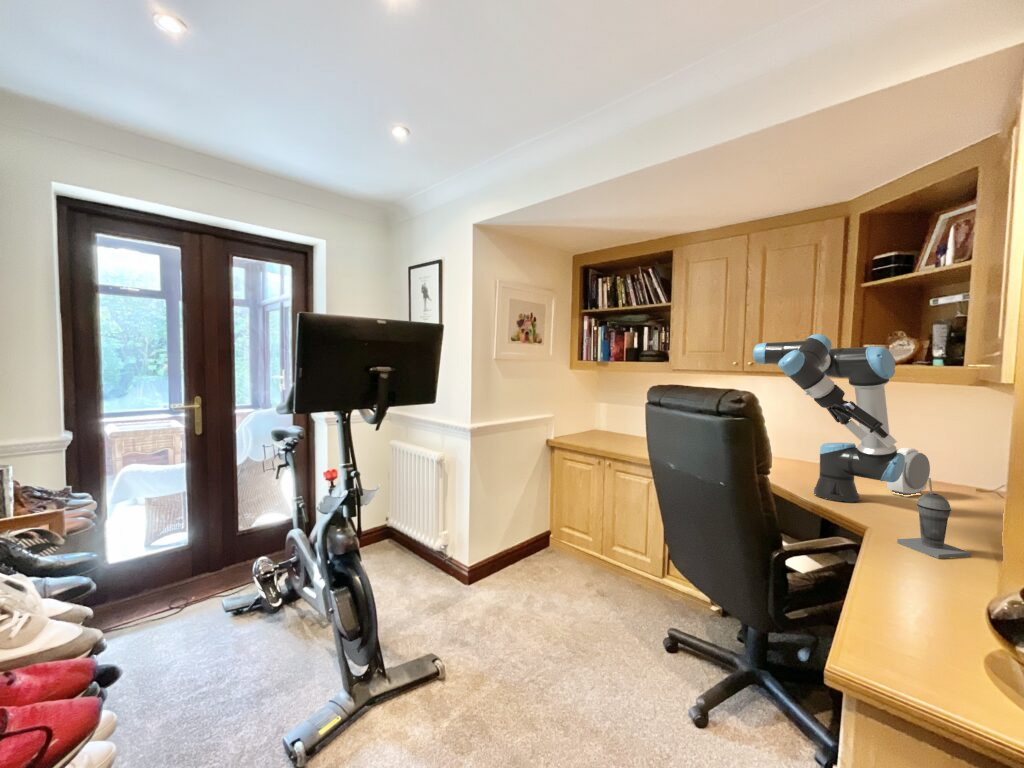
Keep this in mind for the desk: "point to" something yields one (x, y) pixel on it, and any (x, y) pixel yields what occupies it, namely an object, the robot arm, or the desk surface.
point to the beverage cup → (933, 518)
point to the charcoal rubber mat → (934, 549)
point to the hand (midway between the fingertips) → (877, 440)
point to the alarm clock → (911, 473)
